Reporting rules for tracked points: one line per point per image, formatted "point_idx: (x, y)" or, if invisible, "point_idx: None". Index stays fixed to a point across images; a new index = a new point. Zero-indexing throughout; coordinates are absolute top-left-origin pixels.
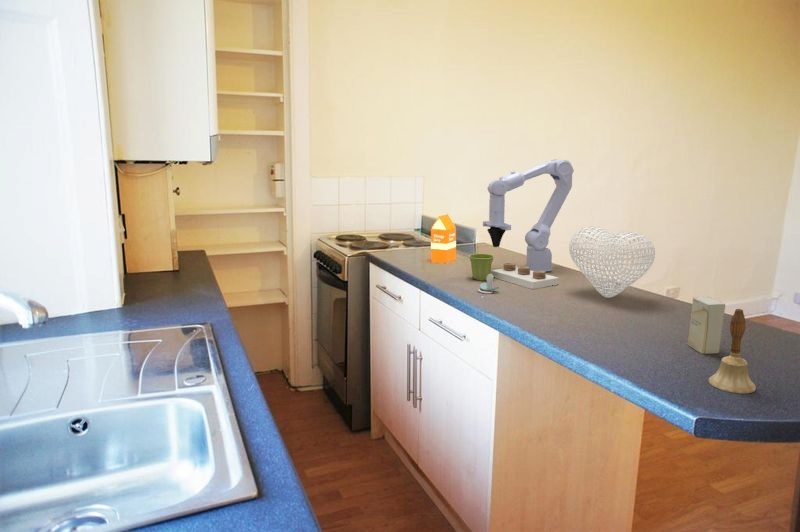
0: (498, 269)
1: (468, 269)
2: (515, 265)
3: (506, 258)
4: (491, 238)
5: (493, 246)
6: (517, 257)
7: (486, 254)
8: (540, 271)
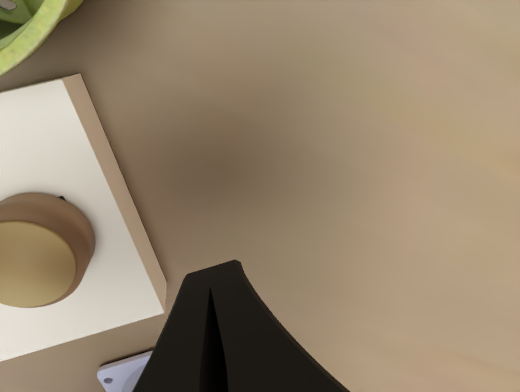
0: (80, 158)
1: (400, 10)
2: (2, 300)
3: (504, 341)
4: (274, 346)
5: (223, 264)
6: (488, 386)
7: (18, 36)
8: None
